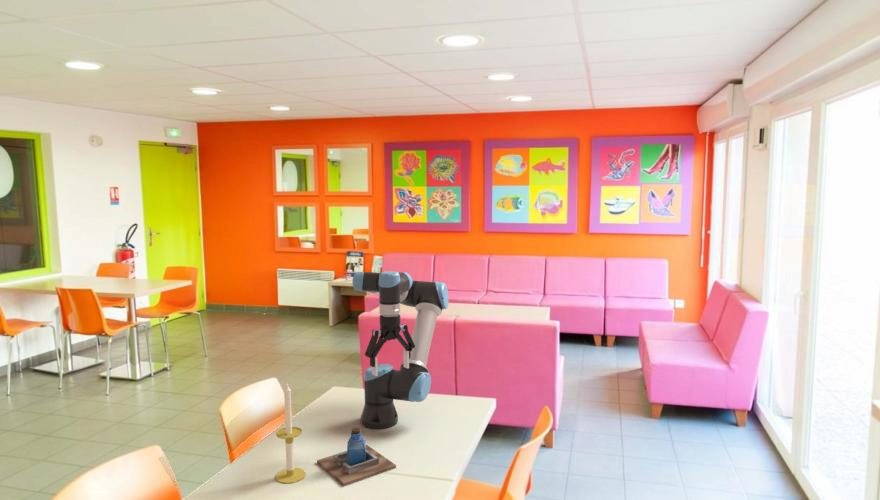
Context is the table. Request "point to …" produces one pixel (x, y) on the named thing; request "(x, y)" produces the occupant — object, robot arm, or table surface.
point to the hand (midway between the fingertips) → (390, 371)
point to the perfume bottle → (356, 448)
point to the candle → (289, 444)
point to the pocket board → (355, 466)
